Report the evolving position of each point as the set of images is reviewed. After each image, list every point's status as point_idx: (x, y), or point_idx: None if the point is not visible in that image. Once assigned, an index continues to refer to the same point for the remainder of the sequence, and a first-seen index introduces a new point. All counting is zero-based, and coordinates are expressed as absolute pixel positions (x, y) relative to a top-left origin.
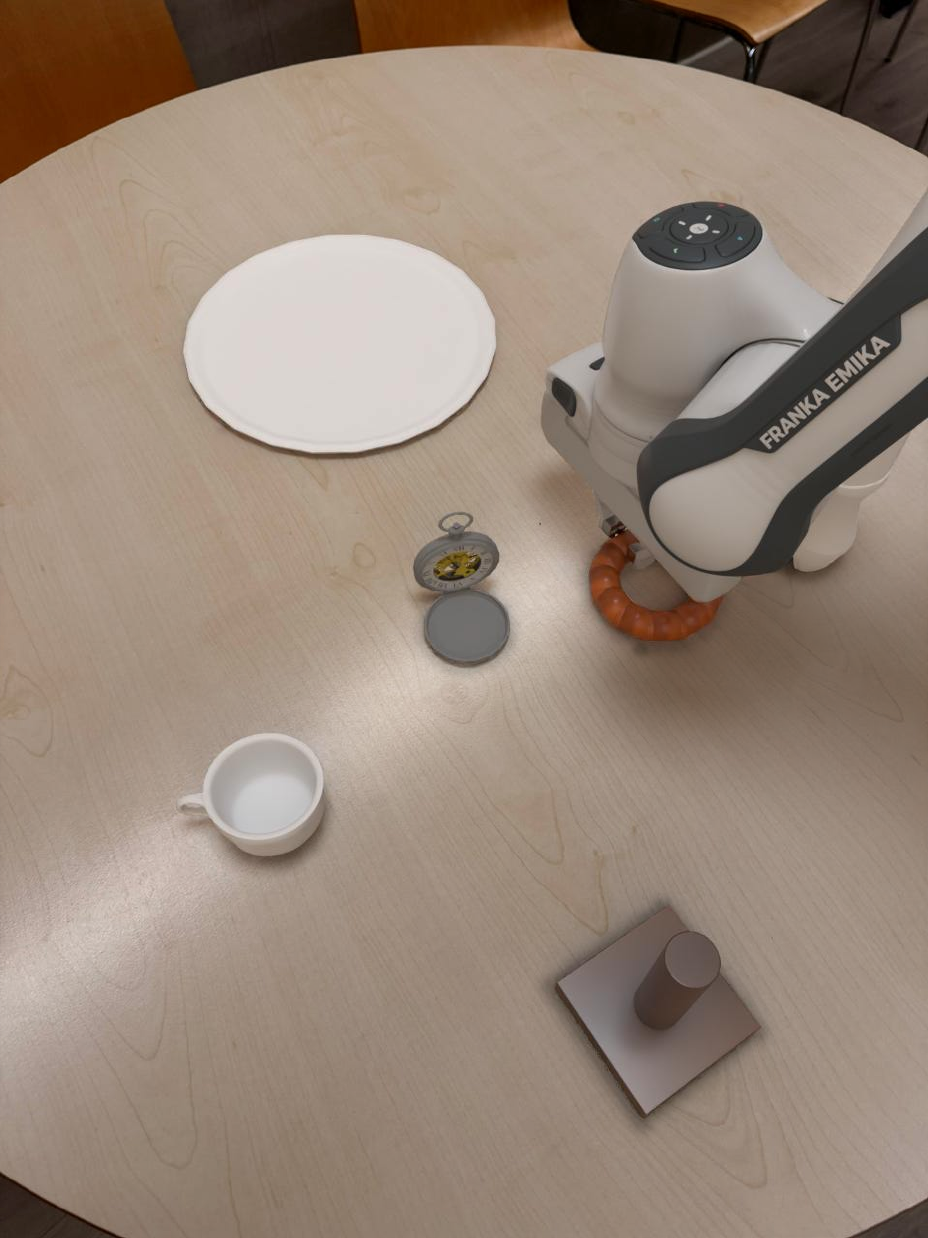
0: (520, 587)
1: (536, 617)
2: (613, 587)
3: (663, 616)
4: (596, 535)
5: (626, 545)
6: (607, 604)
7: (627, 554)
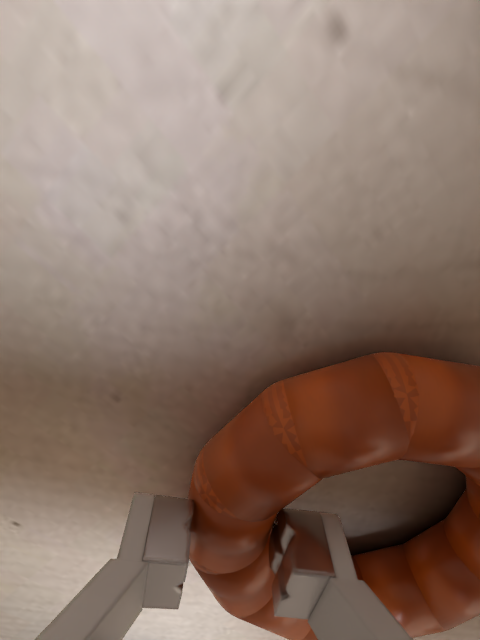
0: (140, 614)
1: (212, 627)
2: (312, 631)
3: (464, 614)
4: (132, 466)
5: (247, 555)
6: None
7: (272, 570)
